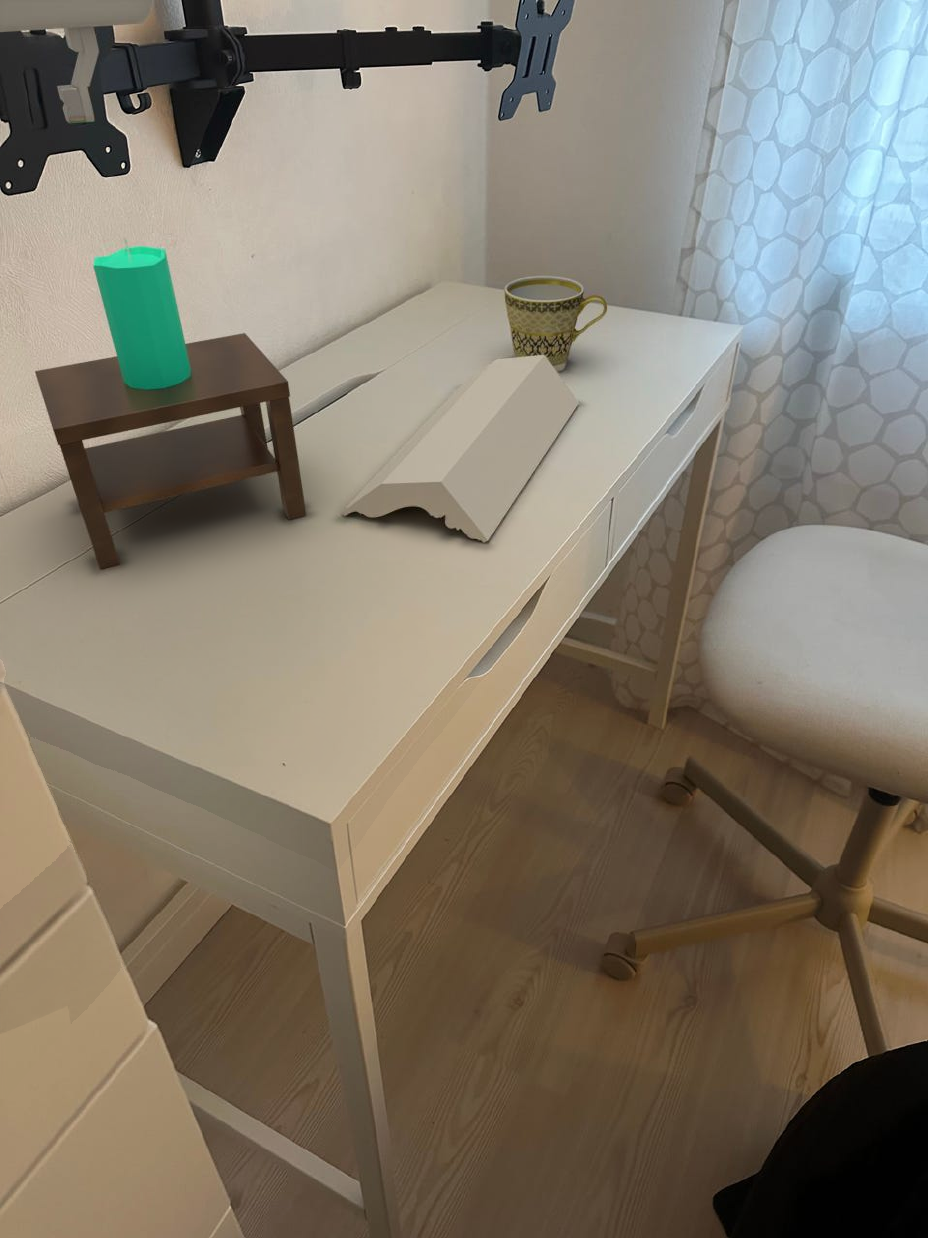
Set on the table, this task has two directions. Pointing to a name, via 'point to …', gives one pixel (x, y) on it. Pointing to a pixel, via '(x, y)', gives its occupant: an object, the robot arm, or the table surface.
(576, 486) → the table surface
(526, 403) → the molding piece
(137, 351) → the candle
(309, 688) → the table surface
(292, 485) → the stand
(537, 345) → the ceramic cup
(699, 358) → the table surface
